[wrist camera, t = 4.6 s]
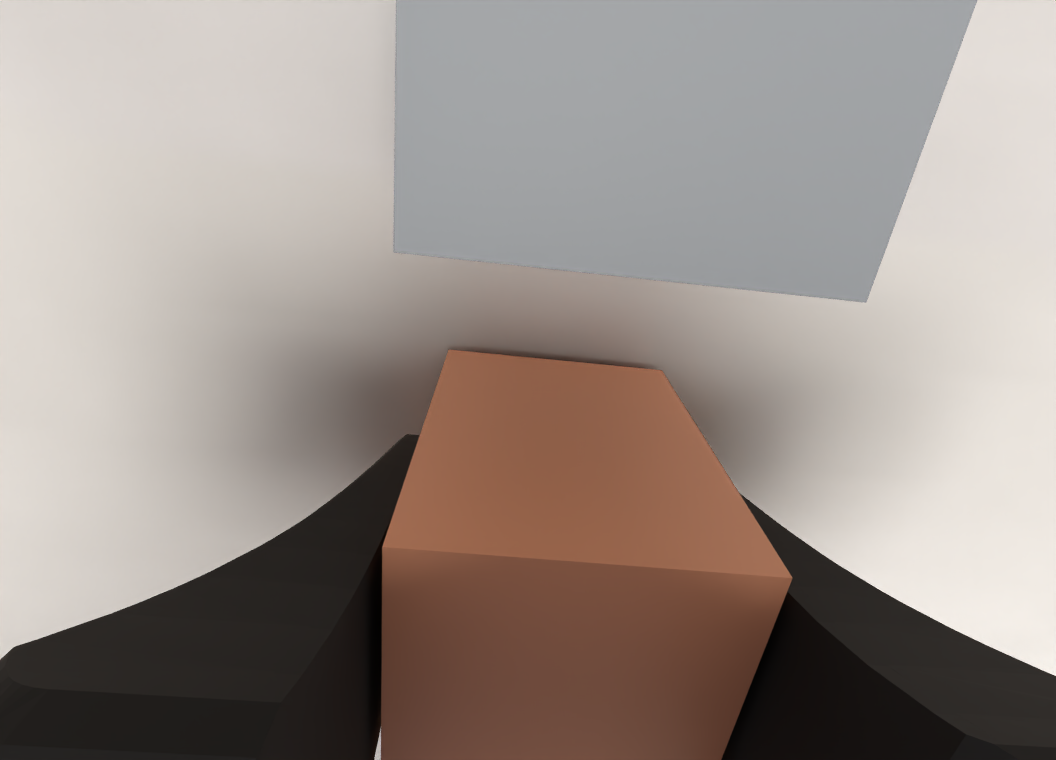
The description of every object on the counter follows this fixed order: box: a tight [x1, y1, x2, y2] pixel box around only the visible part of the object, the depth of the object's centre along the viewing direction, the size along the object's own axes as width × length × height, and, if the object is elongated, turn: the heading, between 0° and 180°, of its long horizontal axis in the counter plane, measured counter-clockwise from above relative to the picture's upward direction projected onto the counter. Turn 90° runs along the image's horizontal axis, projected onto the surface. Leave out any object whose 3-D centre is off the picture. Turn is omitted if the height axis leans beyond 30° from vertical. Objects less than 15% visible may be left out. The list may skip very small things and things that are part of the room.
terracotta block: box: [381, 350, 792, 760], centre depth 10 cm, size 4×4×6 cm
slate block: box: [394, 0, 977, 302], centre depth 7 cm, size 4×4×6 cm
